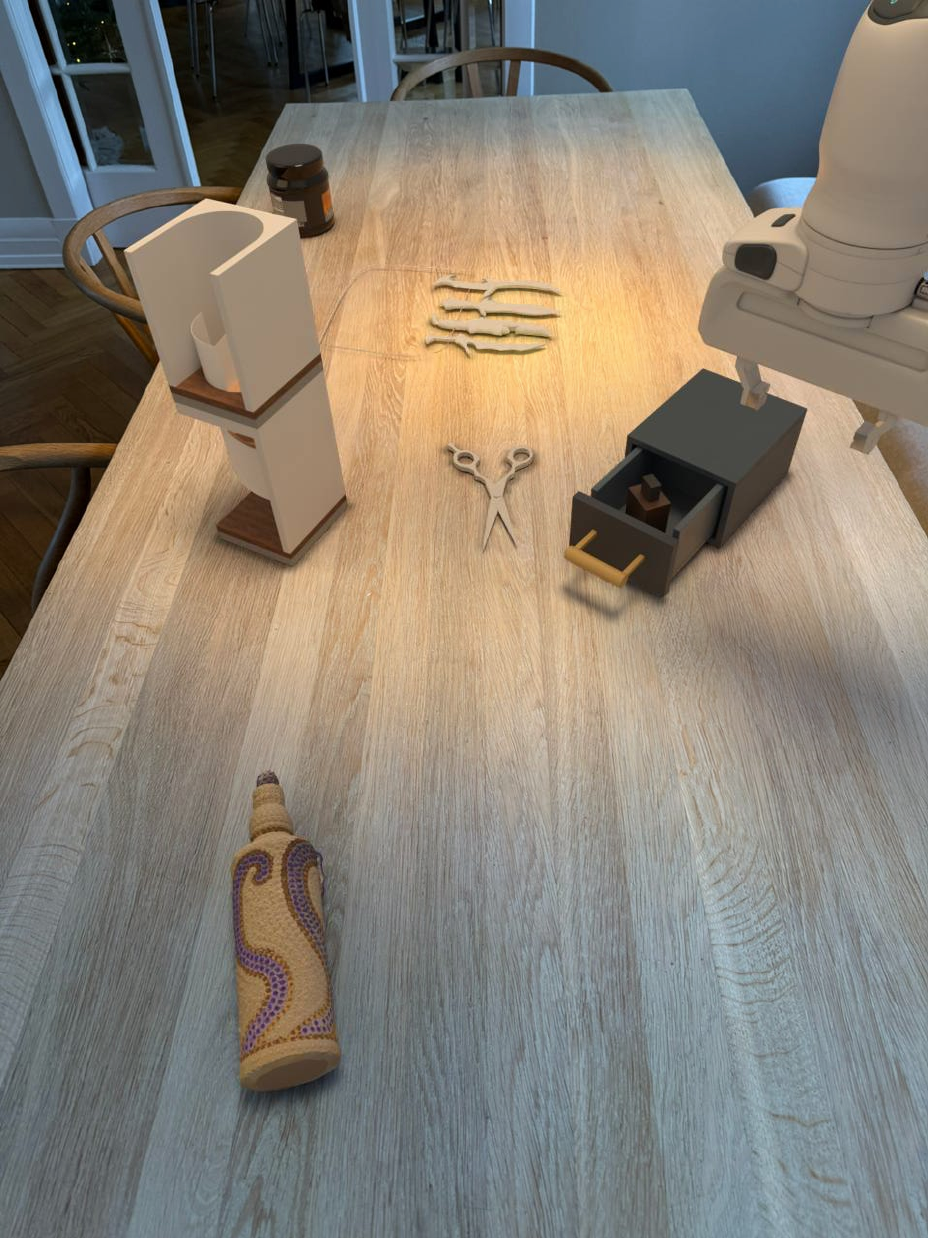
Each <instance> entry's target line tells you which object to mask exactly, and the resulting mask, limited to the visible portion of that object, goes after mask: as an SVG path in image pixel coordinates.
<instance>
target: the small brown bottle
mask: <svg viewBox="0 0 928 1238" xmlns="http://www.w3.org/2000/svg"><path fill="white" fill-rule="evenodd" d="M670 506H671V502H670V501H669V500H668V499H667V497H666V496H665V495H664V494H663V492H662V491H661V484H660V483H659V481H658V480H657V479H656V478H655V476H654V475H653V474H650V475H646V476H643V478H642V484H640V485H636V486H632V487H629V489H628V496H627V503H626V511H625V514H627V515H629V516H631V517H633V518H635V519H637V520H639V521H641V522H643V523H645V524H647V525H649V526H652V527H654V528H656V529H658V530H660V531H662V532H664V533H666V528H667V522H668V517H669V512H670Z"/></svg>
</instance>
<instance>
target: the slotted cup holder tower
mask: <svg viewBox="0 0 928 1238" xmlns="http://www.w3.org/2000/svg"><path fill="white" fill-rule="evenodd" d="M301 240H302V239H301V237H300V235H299V229H298V223H297V219H294V218H290V217H285V216H281V215H276V214H274V213H271V212H269V211H268V212H267V211H263V210H259V209H254V208H249V207H246V206H240V205H237V204H232V203H228V202H224V201H219V200H214V199H210V198H204V199H203V200H201V201H199V202H198V203H197V204H194V205H193V206H192V207H190V208H189V209H187V210H185V211H184V212H183V213H181V214H179V215H177V216H175V218H173V219H171V220H170V221H168V222H166V223H165V224H163V225H162V226H160V227H159V228H157V229H155V230H154V231H153V232H150V233H149V234H148V235H146V236H144V237H143V238H141V239H140V240H138V241H136V242H135V243H133V244H132V245H130V246H129V247H127V248H125V249H124V250H123V254H124V257H125V260H126V263H127V265H128V269H129V271H130V274H131V275H130V276H131V277H132V280H133V283H134V286H135V289H136V293H137V296H138V298H139V299H138V300H139V302H140V304H141V307H142V310H143V314H144V316H145V320H146V323H147V325H148V328H149V330H150V335H151V337H152V340H153V343H154V346H155V349H156V352H157V355H158V358H159V361H160V364H161V366H162V369H163V373H164V375H165V378H166V381H167V384H168V388H169V390H170V393H171V397H172V400H173V402H174V405H175V409H176V412H177V414H179V415H182V416H186V417H188V418H191V419H195V420H197V421H200V422H203V423H206V424H209V425H212V426H215V427H218V428H220V432H221V436H222V439H223V442H224V446H225V449H226V453H227V456H228V459H229V462H230V465H231V468H232V471H233V473H234V475H235V476H236V478H237V480H239V481H240V483H241V484H242V485H243V486H244V487H245V488H247V489H248V490H249V492H248V494H247V495H245V496H244V497H243V499H241V500H240V501H239V502H238V503H237V504H236V505H235V506H234V507H233V508H232V509H231V510H230V511H229V512H227V514H226V515H225V516H224V517H223V518H222V519H221V520H219V522H218V523H217V524H216V525H215V527H216V530H217V533H218V536H219V539H221V540H224V541H226V542H230V543H232V544H234V545H236V546H240V547H242V548H244V549H246V550H249V551H252V552H255V553H257V554H260V555H262V556H265V557H267V558H270V559H272V560H275V561H277V562H280V563H283V564H285V565H288V566H291V567H295V566H296V565H297V563H298V562H299V561H300V560H302V558H303V557H304V556H305V555H306V554H307V552H308V551H309V550H310V549H311V547H312V548H313V546H314V545H315V544H316V543H317V541H318V540H319V539H320V538H321V537H322V536H323V535H324V534H325V533H326V532H327V530H328V529H329V528H330V527H331V526H332V525H333V524H334V523H335V521H337V519H339V517H340V516H341V515H342V514H343V513H344V512H345V511H346V510H347V509H348V507H349V504H348V498H347V493H346V492H347V491H346V488H345V487H346V486H345V480H344V475H343V471H342V464H341V459H340V458H341V457H340V455H339V448H338V443H337V436H336V430H335V425H334V420H333V414H332V409H331V403H330V398H329V392H328V391H329V390H328V386H327V381H326V380H327V379H326V376H325V370H324V364H323V359H322V358H323V357H322V352H321V348H320V346H321V345H319V344H320V342H319V336H318V330H317V326H316V325H317V324H316V318H315V314H314V309H313V308H314V307H313V303H312V297H311V291H310V286H309V280H308V275H307V269H306V264H305V258H304V257H305V256H304V252H303V246H302V241H301Z"/></svg>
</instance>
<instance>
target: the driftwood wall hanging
mask: <svg viewBox="0 0 928 1238" xmlns="http://www.w3.org/2000/svg"><path fill="white" fill-rule="evenodd" d="M376 266H377V267H380V266H381V267H383V266H384V267H385V266H386V267H387V266H388V267H404V268H405V267H406V268H421V269H422V268H423V269H435V270H436V269H438V270H448V271H449V270H452V271H464V272H465V271H466V272H471V273H473V274H474V276H473V278H472V280H471V282H470V281H463V280H457V274H449V275H445V276H442V277H440V278H438V279H436V280H435V281H434V283H433V288H435V287H440V286H449V287H453V288H457V289H459V288H460V289H468V291H467V294H466V295H465V298H464V299H463V300H462V299H456V298H454V297H451V296H449V298H448V299H445V300H442V301H439V305H441V306H443V307H444V309H445V310H446V311H450V310H457V309H458V310H460V311H459V313H458V316H457V319H448V318H440V319H439V320H438V316H437V314H435V313H434V312H431V317H430V318H431V324H432V325H433V326H438V327H439V328H442V329H446V330H452V331H451V334H450V336H445V335H439V334H438V335H437V334H433V333H429V334H427V335H425V337H424V340H425V343H426V345H429V344H431V343H432V342H434V341H445V342H447V343H446V345H445V346H444V347H443V348H441V349H440V350H438V351H435V352H431V353H429V354H426V356H428V355H432V354H433V355H434V354H438V353H440V352H443V350H445V349H446V348H447V347H448V345H449V343H450V342H455V344H456V345H460V346H461V347H462V348H463V349H464V350H465V352H466V354H468V355H471V352H472V351H471V350H470V349H469V347H468V345H474V347H475V348H476V349H477V350H496V351H518V352H523V351H524V352H525V351H529V350H533V349H538V348H543V347H545V346H546V345H547V342H541V343H539V342H538V343H511V342H496V341H488V340H477V339H472V338H471V337H468V336H466V335H465V334H463V333H459V334H457V335H456V336H453V333H454V331H466V332H468V333H469V335H470V334H471V335H472V334H489V335H493V336H500V337H501V336H503V335H508V334H510V333H511V332H514V333H515V335H525V336H526V335H527V336H535V337H536V336H537V337H545V338H549V337H553V334H552V332H551V331H550V329H549V328H547V327H545V326H542V325H540V324H536V323H531V322H526V321H517V320H516V321H515V320H504V319H503V320H502V319H492V318H491V319H490V318H485V317H487V314H491V313H505V314H506V313H507V314H508V313H509V314H517V315H525V316H534V317H535V316H546V315H553V314H560V313H562V311H561V310H557V309H554V308H552V307H547V306H544V305H538V304H533V303H532V304H529V303H508V302H499V301H494V300H493V296H490V295H492V294H493V293H494V292H495V291H496V290H498V289H506V288H507V289H509V288H510V289H511V288H515V289H516V288H517V289H518V288H520V289H531V290H532V289H533V290H541V291H546V292H547V291H548V292H553V293H559V294H563V293H565V292H563V291H562V290H561V289H559V288H557V287H556V286H554V285H553V284H551V283H546V282H544V281H539V280H513V281H512V280H510V281H509V280H492V279H490V278H488V277H485V276H482V279H481V280H482V282H474V280H475V276H476V274H475V271H474V270H470V269H463V268H451V267H450V268H447V267H434V266H421V265H419V266H417V265H404V264H403V265H401V264H387V263H386V264H385V263H384V264H370V265H369V264H368V265H366V266H365V267H362V268H361V269H360V270H359V271H358V272H357V273H356V274H355V275H354V276H353V277H352V278H351V279H350V281H349V282H348V283H347V285H346V286H345V288H344V289H343V291H342V293H341V294H340V296H339V298H338V300H337V302H336V304H335V305H334V307H333V310H332V312H331V314H330V315H329V318H328V320H327V322H326V325H325V326H324V328H323V331H322V333H321V335H320V338H319V339H318V341H319V346H324V347H330V348H337V349H344V350H349V351H350V350H351V351H356V352H357V351H359V352H364V353H372V354H380V355H387V356H396V357H398V356H399V357H422V356H424V354H417V355H414V354H413V355H412V354H411V355H409V354H398V353H388V352H380V351H372V350H367V349H366V350H365V349H358V348H356V349H355V348H350V347H343V346H336V345H330V344H323V343H321V341H322V338H323V336H324V334H325V332H326V329H327V327H328V325H329V323H330V321H331V319H332V316H333V315H334V312H335V310H336V309H337V306H338V304H339V302H340V300H341V299H342V297H343V294H344V293H345V291H346V290H347V288H348V287H349V285H350V284H351V283H352V282H353V280H354V279H355V278H356V277H357V276H358V275H359V274H360V273H361V272H362V271H364V270H365V269H368V268H370V267H376ZM471 290H478V291H479V290H481V291H484V293H483V296H482V297H483V298H484V299H482V301H480V302H476V301H469V300H467V297H468V295H469V293H470V291H471ZM474 309H475V310H476V309H477V310H479V314H480V315H482V316H481V317H479V318H475V319H473V318H472V319H471V318H469V319H467V320H459V318H460V315H461V313H462V310H474Z"/></svg>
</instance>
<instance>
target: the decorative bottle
mask: <svg viewBox="0 0 928 1238" xmlns="http://www.w3.org/2000/svg"><path fill="white" fill-rule="evenodd" d="M251 796H252V809H253V811H252V812H251V816H250V820H249V824H248V834H249V840H250V843H248V844H246V845H244V846H243V847H242V848H240V849H238V850H237V851H236V852H235V854H234V856H233V858H232V861H231V864H230V877H231V888H232V891H231V901H232V922H233V937H234V954H235V964H234V965H235V972H236V973H235V975H236V977H235V978H236V995H237V996H236V997H237V1010H238V1011H237V1014H238V1026H237V1030H238V1042H239V1062H240V1063H239V1068H238V1078H239V1084H240V1086H242V1087H243V1088H245V1089H249V1090H251V1091H255V1092H258V1091H259V1092H263V1093H264V1092H271V1091H272V1092H273V1091H282V1090H289V1089H291V1088H293V1087H297V1086H300V1085H305V1084H307V1083H311V1082H313V1081H315V1080H317V1079H319V1078H322V1077H323V1076H325V1075H326V1074H329V1073H330V1072H331V1071H333V1070H335V1069H336V1068H337V1067H338V1066H339V1065H340V1062H341V1056H342V1049H341V1047H340V1044H339V1035H338V1033H339V1032H338V1031H339V1030H338V1028H337V1025H336V1019H335V1006H334V1005H335V1004H334V996H333V989H332V982H331V975H330V968H329V960H328V959H329V958H328V953H327V939H326V932H325V931H326V930H325V922H324V908H323V899H324V891H325V885H324V884H325V882H326V881H325V880H326V879H325V874H324V870H323V869H324V868H323V862H324V858H323V855H322V854H321V852H319V851H316V849H315V848H314V846H313V844H312V843H311V842H310V841H309V840H308V839H305V838H302V837H300V836H297V835H295V833H294V825H293V820H292V818H291V814H290V813H289V811H288V810H287V808H286V798H285V792H284V788H283V787H282V786H281V785H280V781H279V778H278V775H276V773H275V771H273V770H266V771H263V772H262V773H261V774H259V775H258V776H257V778H256V787H255V789H254V790H253V792H252V795H251ZM318 858H319V861H318V860H317V859H318ZM318 867H320V868H318Z"/></svg>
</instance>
